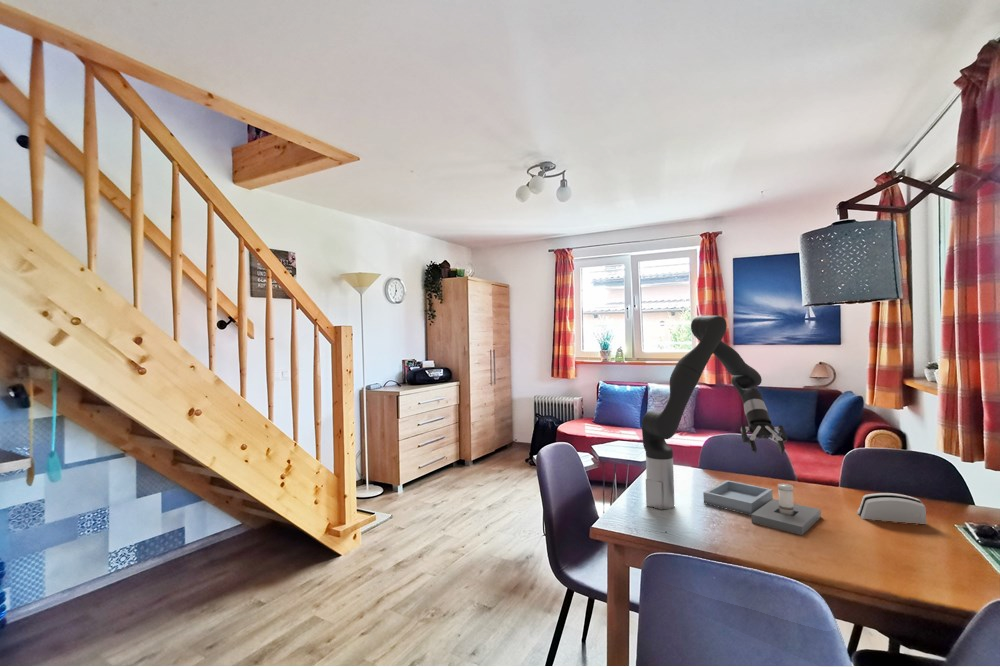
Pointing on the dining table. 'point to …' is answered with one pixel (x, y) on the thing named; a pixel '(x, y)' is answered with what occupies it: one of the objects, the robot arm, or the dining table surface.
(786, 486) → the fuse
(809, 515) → the block
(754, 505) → the parts tray
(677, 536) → the dining table surface
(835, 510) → the dining table surface
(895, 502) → the grey grooved half-disc
